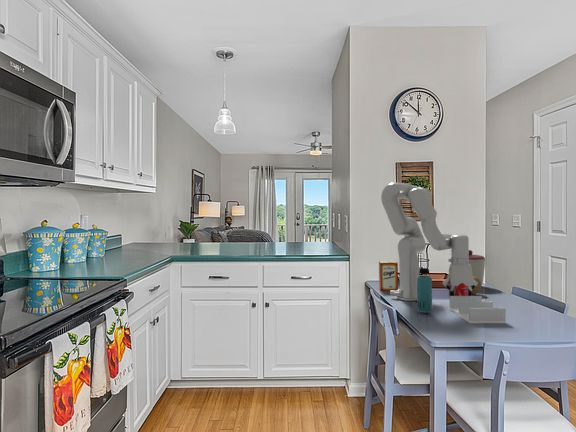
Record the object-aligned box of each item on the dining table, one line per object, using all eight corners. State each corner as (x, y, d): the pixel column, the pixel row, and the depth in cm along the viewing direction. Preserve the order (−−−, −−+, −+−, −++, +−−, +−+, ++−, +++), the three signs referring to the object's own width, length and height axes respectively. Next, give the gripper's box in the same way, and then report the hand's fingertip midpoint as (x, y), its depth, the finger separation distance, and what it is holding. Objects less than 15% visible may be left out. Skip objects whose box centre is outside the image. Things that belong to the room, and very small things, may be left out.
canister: (484, 290, 228) (484, 252, 227) (449, 287, 238) (449, 250, 237) (488, 285, 243) (488, 249, 242) (456, 282, 253) (455, 247, 252)
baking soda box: (380, 290, 231) (380, 262, 231) (379, 288, 238) (378, 260, 237) (397, 290, 230) (397, 262, 230) (396, 288, 237) (395, 260, 236)
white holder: (469, 323, 165) (469, 308, 165) (449, 309, 188) (449, 296, 188) (505, 323, 165) (505, 308, 164) (480, 309, 188) (480, 295, 187)
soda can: (449, 304, 197) (449, 279, 197) (463, 303, 198) (463, 278, 197) (456, 308, 190) (456, 282, 190) (471, 307, 191) (471, 281, 190)
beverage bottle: (432, 312, 183) (432, 267, 182) (432, 316, 176) (432, 269, 176) (417, 311, 185) (416, 266, 184) (416, 315, 179) (416, 269, 178)
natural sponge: (459, 294, 219) (459, 275, 218) (467, 291, 225) (467, 273, 224) (477, 297, 212) (477, 277, 212) (484, 294, 218) (484, 275, 218)
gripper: (443, 262, 190) (444, 301, 190) (482, 262, 189) (482, 300, 190) (438, 260, 197) (438, 297, 198) (475, 260, 197) (475, 297, 197)
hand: (460, 298), depth 194 cm, fingers closed on soda can, 7 cm apart
